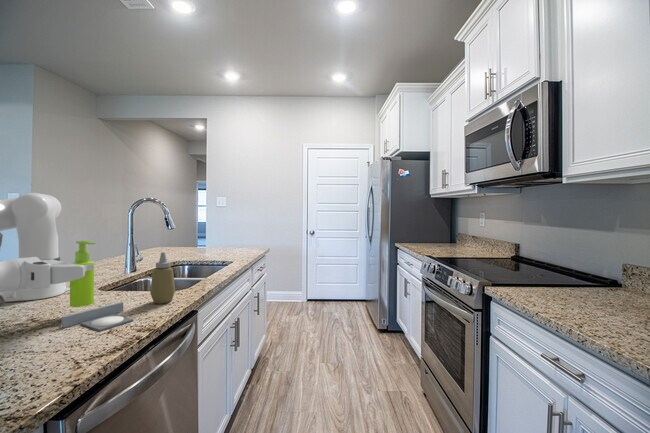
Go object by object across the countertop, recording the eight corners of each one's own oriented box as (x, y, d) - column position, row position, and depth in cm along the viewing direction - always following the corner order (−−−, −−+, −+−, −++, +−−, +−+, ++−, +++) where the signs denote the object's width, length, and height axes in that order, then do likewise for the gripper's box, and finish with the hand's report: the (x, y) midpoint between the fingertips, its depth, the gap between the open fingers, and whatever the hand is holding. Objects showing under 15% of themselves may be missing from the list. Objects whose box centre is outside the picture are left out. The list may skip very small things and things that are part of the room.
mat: (80, 324, 88) (80, 322, 88) (114, 315, 96) (114, 313, 96) (99, 331, 83) (99, 329, 83) (133, 321, 91) (133, 319, 91)
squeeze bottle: (176, 297, 116) (176, 250, 115) (174, 303, 108) (174, 253, 108) (152, 299, 113) (152, 251, 112) (148, 306, 105) (148, 254, 105)
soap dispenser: (83, 308, 92) (83, 242, 91) (64, 306, 93) (65, 241, 93) (101, 302, 98) (101, 240, 97) (83, 300, 99) (83, 239, 99)
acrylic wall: (61, 327, 86) (61, 316, 86) (121, 310, 100) (121, 301, 100) (63, 327, 85) (63, 317, 85) (123, 311, 99) (123, 302, 99)
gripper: (12, 280, 89) (69, 272, 101) (45, 289, 79) (103, 279, 92) (12, 258, 89) (69, 253, 101) (45, 265, 79) (103, 258, 92)
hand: (86, 265), depth 96 cm, fingers closed on soap dispenser, 6 cm apart
